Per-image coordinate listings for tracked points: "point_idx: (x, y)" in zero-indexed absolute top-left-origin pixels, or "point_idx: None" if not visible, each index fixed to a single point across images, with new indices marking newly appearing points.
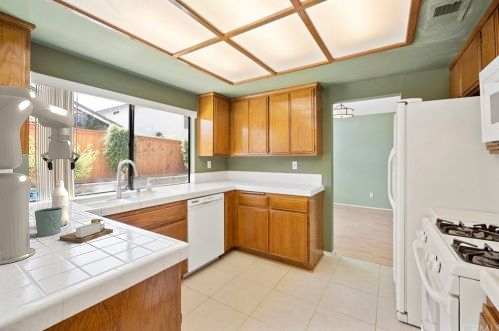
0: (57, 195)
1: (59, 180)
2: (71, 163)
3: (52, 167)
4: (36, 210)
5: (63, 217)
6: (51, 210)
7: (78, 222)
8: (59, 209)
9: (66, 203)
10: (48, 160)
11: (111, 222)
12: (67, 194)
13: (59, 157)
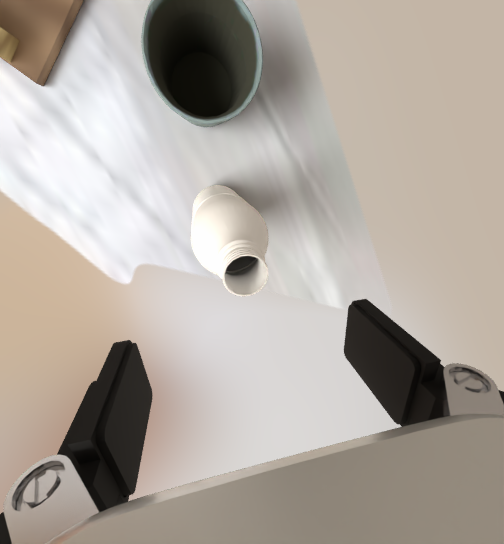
0: (227, 201)
1: (254, 291)
2: (86, 423)
3: (358, 371)
4: (260, 60)
5: (201, 194)
6: (215, 117)
7: (173, 234)
8: (176, 106)
9: (194, 217)
10: (480, 400)
11: (23, 192)
12: (191, 237)
13: (323, 503)
